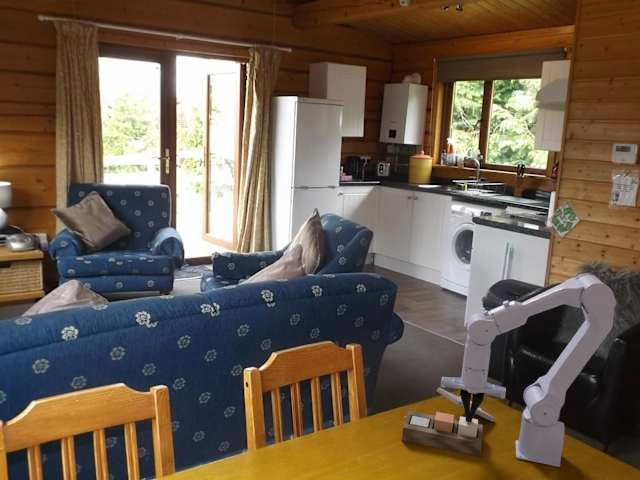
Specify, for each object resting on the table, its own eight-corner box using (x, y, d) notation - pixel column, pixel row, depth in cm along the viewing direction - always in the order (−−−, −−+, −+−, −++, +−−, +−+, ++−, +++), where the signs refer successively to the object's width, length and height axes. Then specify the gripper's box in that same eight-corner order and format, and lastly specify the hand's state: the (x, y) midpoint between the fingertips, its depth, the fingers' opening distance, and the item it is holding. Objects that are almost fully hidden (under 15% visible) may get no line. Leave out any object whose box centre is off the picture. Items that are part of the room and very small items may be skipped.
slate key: (428, 430, 147) (429, 419, 147) (426, 438, 143) (427, 427, 143) (411, 426, 148) (412, 415, 148) (408, 435, 144) (410, 423, 144)
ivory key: (476, 431, 144) (477, 419, 143) (475, 439, 140) (477, 427, 139) (458, 427, 145) (459, 416, 144) (457, 436, 141) (458, 424, 140)
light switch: (497, 415, 155) (461, 398, 148) (486, 435, 155) (450, 419, 147) (474, 400, 162) (439, 383, 155) (464, 420, 162) (428, 404, 155)
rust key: (452, 426, 145) (454, 415, 145) (451, 434, 141) (452, 423, 141) (435, 423, 146) (436, 411, 146) (433, 431, 142) (434, 419, 142)
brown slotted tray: (480, 438, 146) (482, 424, 146) (479, 457, 138) (481, 443, 137) (407, 423, 151) (408, 410, 150) (401, 440, 142) (403, 427, 142)
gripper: (442, 366, 137) (435, 421, 140) (508, 378, 133) (500, 434, 136) (444, 355, 144) (438, 408, 146) (508, 366, 140) (500, 420, 143)
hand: (468, 420), depth 142 cm, fingers closed
